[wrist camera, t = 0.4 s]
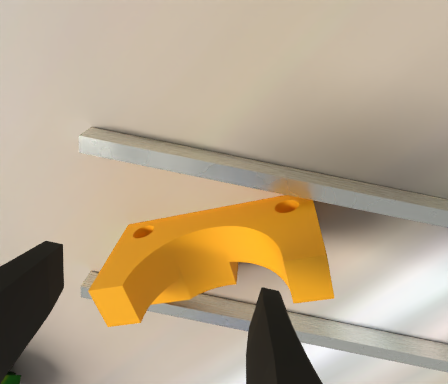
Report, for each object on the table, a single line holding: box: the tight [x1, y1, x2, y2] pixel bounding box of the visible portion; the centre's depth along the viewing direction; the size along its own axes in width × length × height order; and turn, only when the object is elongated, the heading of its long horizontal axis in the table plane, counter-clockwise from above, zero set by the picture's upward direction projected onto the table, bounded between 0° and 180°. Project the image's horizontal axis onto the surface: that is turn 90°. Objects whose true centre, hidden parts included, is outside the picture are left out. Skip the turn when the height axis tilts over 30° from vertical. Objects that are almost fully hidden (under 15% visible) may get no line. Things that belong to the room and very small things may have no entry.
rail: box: [79, 127, 448, 372], centre depth 23 cm, size 12×30×3 cm, turn 80°
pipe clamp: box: [88, 195, 334, 327], centre depth 21 cm, size 12×4×6 cm, turn 105°
